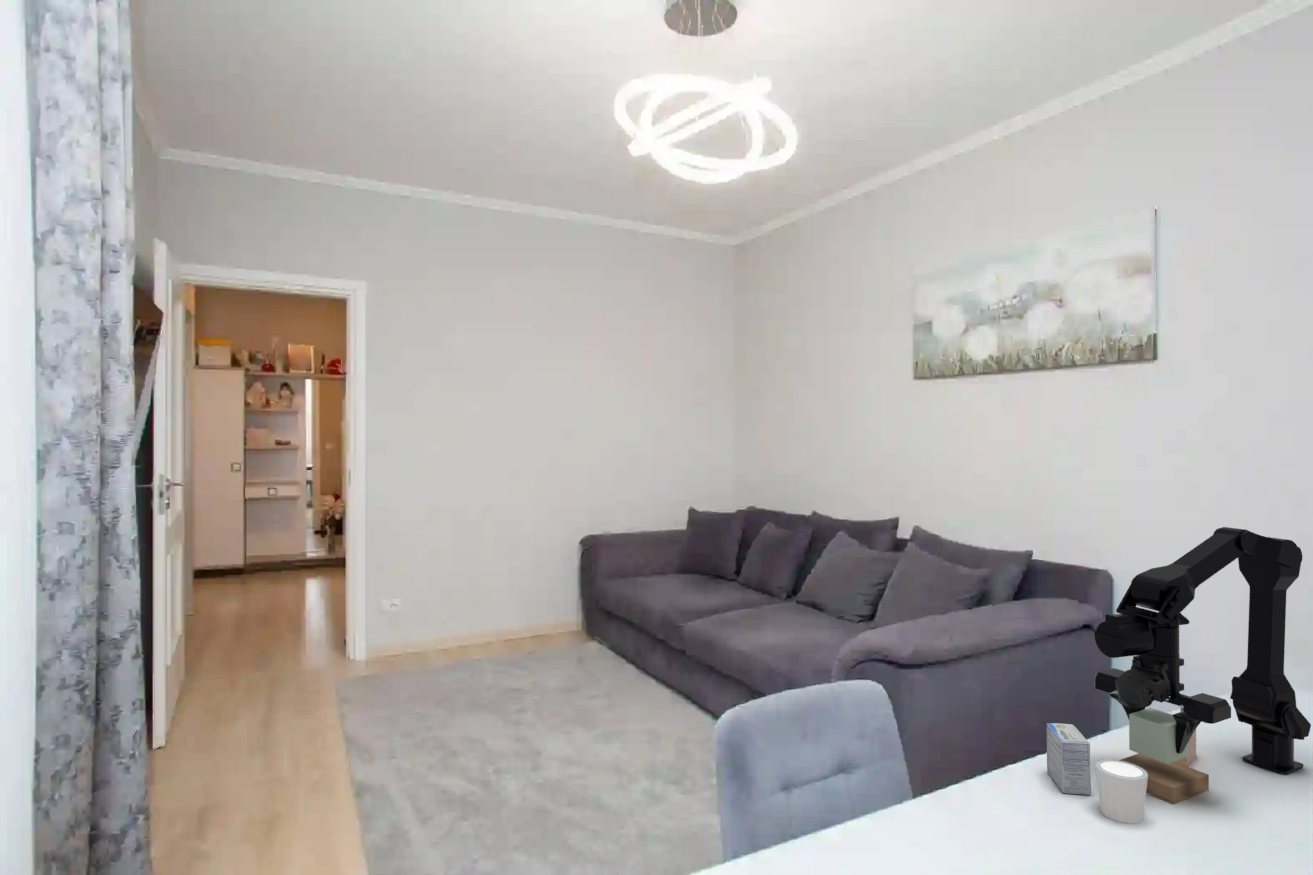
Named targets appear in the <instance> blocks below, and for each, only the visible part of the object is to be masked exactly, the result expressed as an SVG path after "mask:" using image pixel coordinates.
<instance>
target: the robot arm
mask: <svg viewBox="0 0 1313 875" xmlns="http://www.w3.org/2000/svg"><path fill="white" fill-rule="evenodd" d="M1237 559H1238V560H1237ZM1235 560H1237V561H1238V569H1239V571H1240V573H1241V575H1242V576H1243V578H1244V580H1245V581H1246V582H1247V585H1248V587H1249V593H1248V595H1249V596H1248V602H1249V603H1248V624H1247V625H1248V626H1247V627H1248V629H1247V630H1248V631H1247V657H1246V658H1247V659H1246V660H1247V661H1246V668H1245V669H1244V670H1243V672H1242V673H1241V674H1240V675H1239V676H1233V677H1232V679H1231V693H1230V694H1231V695H1229V696H1230V698H1229V699H1230V700H1231V701H1232V705H1233V708H1234V710H1235V713H1236V717H1237V720H1238V722H1240V723H1244V724H1247V725H1250V726H1251V753H1249V754H1247V755H1244V756H1242V757H1241V760H1242V761H1244V762H1246V763H1250V764H1253V765H1256V766H1258V767H1262V768H1265V769H1267V770H1271V771H1274V772H1276V773H1280V774H1283V775H1288V774H1291V773H1293V772H1295V771H1297V770H1300V769H1302V768H1304V763H1302V762H1299V761H1296V760H1295V740H1301V741H1304V740H1305V738H1307V737H1309V735H1310V732H1311V726H1312V725H1311V723H1310V721H1309V720H1308V719H1307V718H1306V717H1305V716H1304V714H1303V713H1302V712H1301V711H1300V710H1299V708H1298V707H1297V698H1296V692H1295V690H1294V688H1293V687H1292V685H1291V683H1290V682H1289V679H1288V678H1287V677H1286V675H1285V644H1286V643H1285V642H1286V620H1287V618H1286V613H1287V590H1288V589H1289V588H1290V587H1291V586H1292V585H1293V584H1294V582H1295V581H1296V580H1297V579H1298V578H1299V577H1300V571H1301V567H1302V566H1301V565H1302V561H1303V552H1302V550H1301V547H1300V546H1298V545H1297V543H1295V542H1294V541H1293V540H1291V539H1284V538H1278V537H1271V536H1270V537H1269V536H1264V535H1261V534H1258V533H1256V532H1252V531H1250V530H1248V529H1245V528H1244V529H1243V528H1236V527H1229V526H1223V527H1219V528H1216V529H1215V530H1214V531H1213V534H1212V535H1211V536H1209V537H1208V538H1206V539H1204V541H1203V542H1201V543H1199V544H1198V545H1196V546H1195V547H1193V548H1192V549H1191V550H1189V551H1188V552H1186V553H1185V554H1183V555H1182V556H1180V557H1179V558H1178V559H1176V560H1175V561H1174V562H1172V563H1170V564H1167V565H1163V566H1158V567H1153V568H1149V569H1147V570H1145V571H1142V572H1140V573H1138V574H1136V575H1135V576H1134V577H1133V578H1132V580H1131V582H1130V585H1129V586H1128V589H1127V590H1126V592H1125V594H1124V595H1123V597H1122V599H1121V601H1120V602H1119V604H1118V606H1117V608H1116V610H1115V611H1116V614H1114V613H1106V614H1105V615H1104V616H1105V620H1104V621H1103V622H1100V623H1099V624H1098V625H1097V627H1096V629H1095V631H1094V640H1095V643H1096V646H1097V648H1098V650H1100V652H1101V653H1102V654H1103V655H1104V656H1106V657H1107V658H1113V659H1116V658H1126V657H1132V660H1131V661H1132V662H1131V666H1130V669H1127V670H1122V669H1119V668H1114V667H1113V668H1108V669H1104V670H1101V671H1097V672H1096V673H1095V675H1094V677H1093V688H1094V689H1095V690H1099V691H1102V692H1105V693H1109V696H1110V698H1111V699H1114V700H1115V701H1116V702H1118V703H1119V704H1120V705H1121V706H1122V708H1123V710H1124V712H1125V714H1126V716H1127V718H1128V720H1129V714H1131V713H1134V712H1138V711H1141V710H1144V709H1146V708H1149V707H1150V706H1151V705H1152V703H1153V702H1154V701H1155V702H1158V703H1164V702H1165V703H1168V704H1172V705H1176V706H1179V707H1180V711H1179V712H1177V713H1174V714H1173V713H1172V716H1173V718H1174V719H1175V721H1176V752H1177V753H1179V754H1180V753H1182V752H1183V751H1184V749H1185V747H1186V745H1187V743H1188V742H1189V740H1190V738H1191V736H1192V734H1193V733H1194V731H1195V729H1196V730H1197V728H1198V727H1199V725H1200V724H1201V722H1202V723H1205V724H1210V725H1211V724H1212V725H1214V724H1217V723H1220V722H1222V721H1226V720H1229V719H1231V718H1232V707H1231V705H1230V703H1229V702H1228V700H1227V699H1225V698H1221V697H1218V696H1216V695H1211V694H1208V693H1204V692H1201V693H1197V694H1195V695H1191V696H1189V695H1186V694H1183V693H1180V692H1182V691H1185V684H1184V683H1181V682H1180V681H1181V680H1180V676H1181V675H1180V668H1181V667H1184V666H1185V659H1184V658H1182V657H1180V626H1183V625H1189V624H1190V620H1189V619H1188V618H1187V617H1186V616H1184V615H1183V614H1182V612H1183V610H1185V609H1186V608H1187V606H1188V605H1190V604H1191V602H1193V601H1194V599H1195V594H1196V589H1197V588H1198V587H1199V586H1200V585H1201V584H1203V583H1205V582H1206V581H1207V580H1209V579H1210V578H1212V577H1213V576H1215V575H1216V574H1217V573H1218V572H1221V570H1222V569H1224V568H1226V567H1227V566H1228V565H1230V564H1231V563H1232V562H1234V561H1235Z"/></svg>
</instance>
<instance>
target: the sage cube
mask: <svg viewBox="0 0 1313 875" xmlns="http://www.w3.org/2000/svg"><path fill="white" fill-rule="evenodd" d="M1172 715H1173V713H1168V712H1166V711H1163V710H1159V709H1155V708H1152V707H1147V708H1145V709H1144V710H1141V711H1138V712H1134V713H1131V714H1129V719H1128V721H1129V722H1128V728H1129V730H1128V734H1129V735H1128V736H1129V737H1128V738H1129V739H1128V740H1129V741H1128V742H1129V744H1128V745H1129V746H1128V748H1129V750H1130V751H1132V752H1135V753H1136V754H1138V753H1139V754H1142V755H1145V756H1147V757H1150V758H1153V759H1155V760H1158V761H1161V762H1164V763H1166V764H1169V763H1171V762H1174V761H1177V760H1180V759H1182V758H1185V757H1188V756H1189V742H1188V743H1187V745H1186V747H1185V749H1184V751H1183V752H1182V753H1180V754H1179V753H1177V752H1176V721H1175V719H1174V718H1173V716H1172Z"/></svg>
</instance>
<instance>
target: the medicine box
mask: <svg viewBox="0 0 1313 875" xmlns="http://www.w3.org/2000/svg"><path fill="white" fill-rule="evenodd" d="M1046 769H1047V770H1046V771H1047V773H1048V775H1049V776H1050V777H1051V779H1052V780H1053V782H1054V783H1055V784H1056V786H1057V787H1058V788H1059V789H1060V791H1061V793H1062V794H1069V795H1080V796H1081V795H1083V796H1084V795H1085V796H1090V795H1091V794H1092V788H1091V787H1092V785H1091V782H1092V781H1091V779H1092V777H1091V743H1090V742H1089V741H1088V740H1087V738H1086V737H1084V735H1083V734H1082V733H1081V732H1080V731H1079V729H1078V728H1077V727H1076V726H1075V725H1074V724H1070V723H1059V722H1058V723H1057V722H1053V723H1052V722H1051V723H1049V722H1047V723H1046Z"/></svg>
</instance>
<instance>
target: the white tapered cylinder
mask: <svg viewBox="0 0 1313 875" xmlns="http://www.w3.org/2000/svg"><path fill="white" fill-rule="evenodd" d="M1095 771H1096V780H1097V782H1096V783H1097V789H1098V790H1097V791H1098V800H1099V802H1098V803H1099V810H1100V813H1102V815H1103V816H1105V817H1107V818H1108V819H1111V820H1113V821H1115V822H1119V823H1124V824H1129V825H1130V824H1132V825H1134V824H1136V825H1137V824H1140V823H1142V822H1143V821H1144V816H1145V806H1146V796H1147V793H1146V789H1147V780H1148V774H1147V772H1146V771H1145V770H1144V769H1143V768H1141V767H1139V766H1136V765H1134V764H1131V763H1128V762H1124V761H1118V759H1101V760H1098V761H1097V762H1095Z"/></svg>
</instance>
